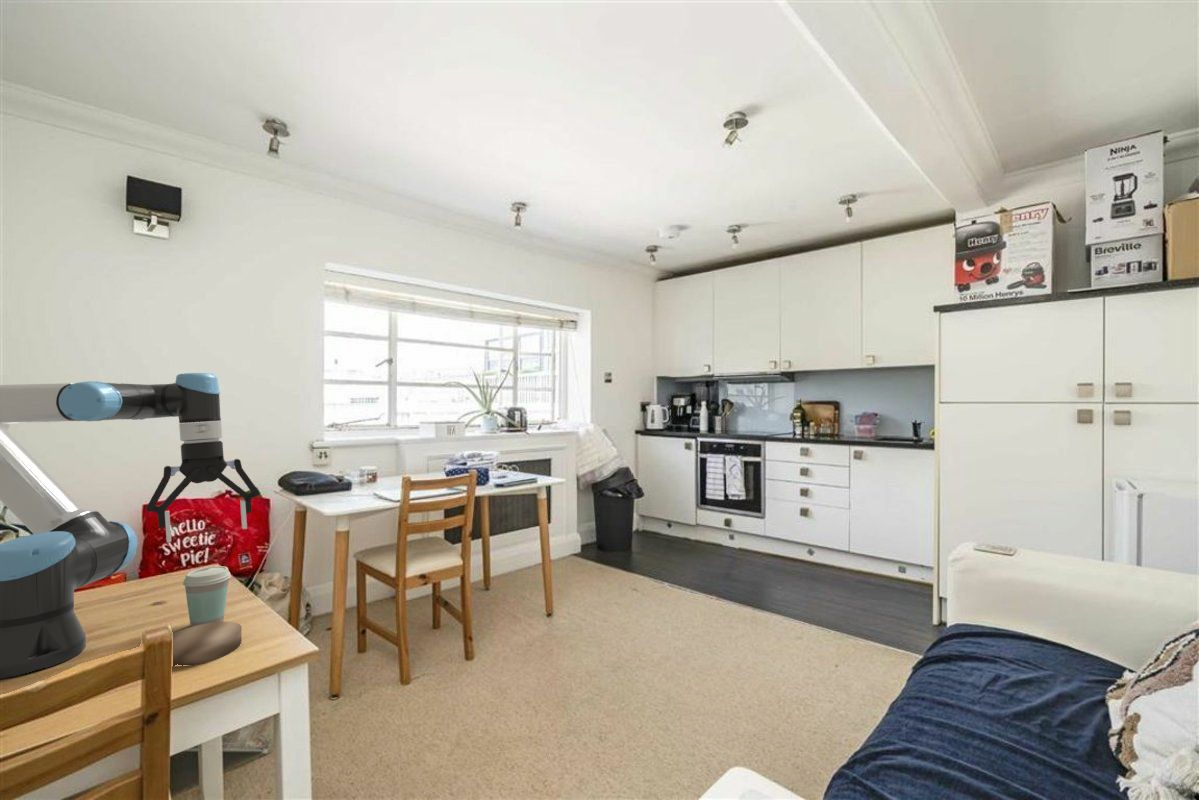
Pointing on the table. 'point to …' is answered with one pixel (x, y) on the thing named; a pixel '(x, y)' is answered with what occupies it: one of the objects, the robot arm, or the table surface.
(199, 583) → the coffee cup
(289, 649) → the table surface
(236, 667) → the table surface
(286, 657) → the table surface
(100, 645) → the table surface
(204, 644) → the walnut stand
